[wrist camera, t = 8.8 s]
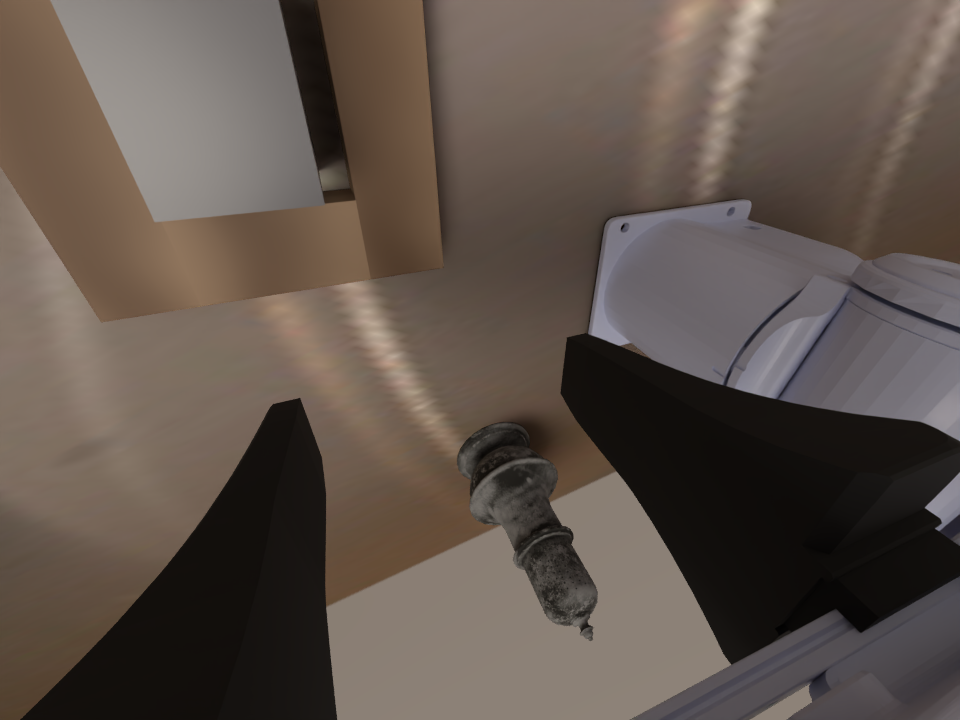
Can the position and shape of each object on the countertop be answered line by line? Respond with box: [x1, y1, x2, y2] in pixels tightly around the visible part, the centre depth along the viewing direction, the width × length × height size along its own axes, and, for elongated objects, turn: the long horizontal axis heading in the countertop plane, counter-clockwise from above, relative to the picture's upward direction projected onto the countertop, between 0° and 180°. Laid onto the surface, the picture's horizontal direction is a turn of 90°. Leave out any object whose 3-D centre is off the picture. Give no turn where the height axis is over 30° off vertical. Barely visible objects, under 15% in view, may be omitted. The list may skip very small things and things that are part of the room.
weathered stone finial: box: [457, 422, 598, 641], centre depth 23 cm, size 6×6×12 cm
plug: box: [50, 0, 325, 222], centre depth 11 cm, size 4×5×6 cm
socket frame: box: [0, 0, 444, 322], centre depth 12 cm, size 12×13×2 cm
